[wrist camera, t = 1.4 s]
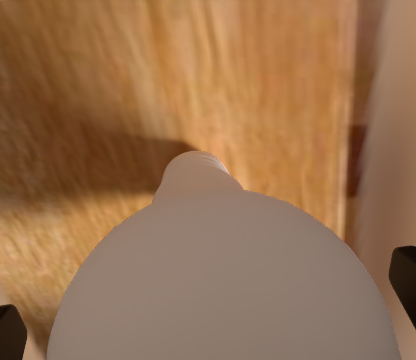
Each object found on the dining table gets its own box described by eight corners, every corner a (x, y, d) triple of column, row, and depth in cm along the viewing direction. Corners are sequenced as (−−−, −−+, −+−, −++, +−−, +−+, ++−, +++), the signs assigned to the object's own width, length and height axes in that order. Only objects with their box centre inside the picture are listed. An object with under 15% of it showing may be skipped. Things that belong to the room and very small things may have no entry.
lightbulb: (98, 107, 12) (-220, 527, 2) (266, 85, 12) (649, 372, 2) (134, 244, 15) (63, 699, 5) (270, 223, 15) (459, 619, 5)
